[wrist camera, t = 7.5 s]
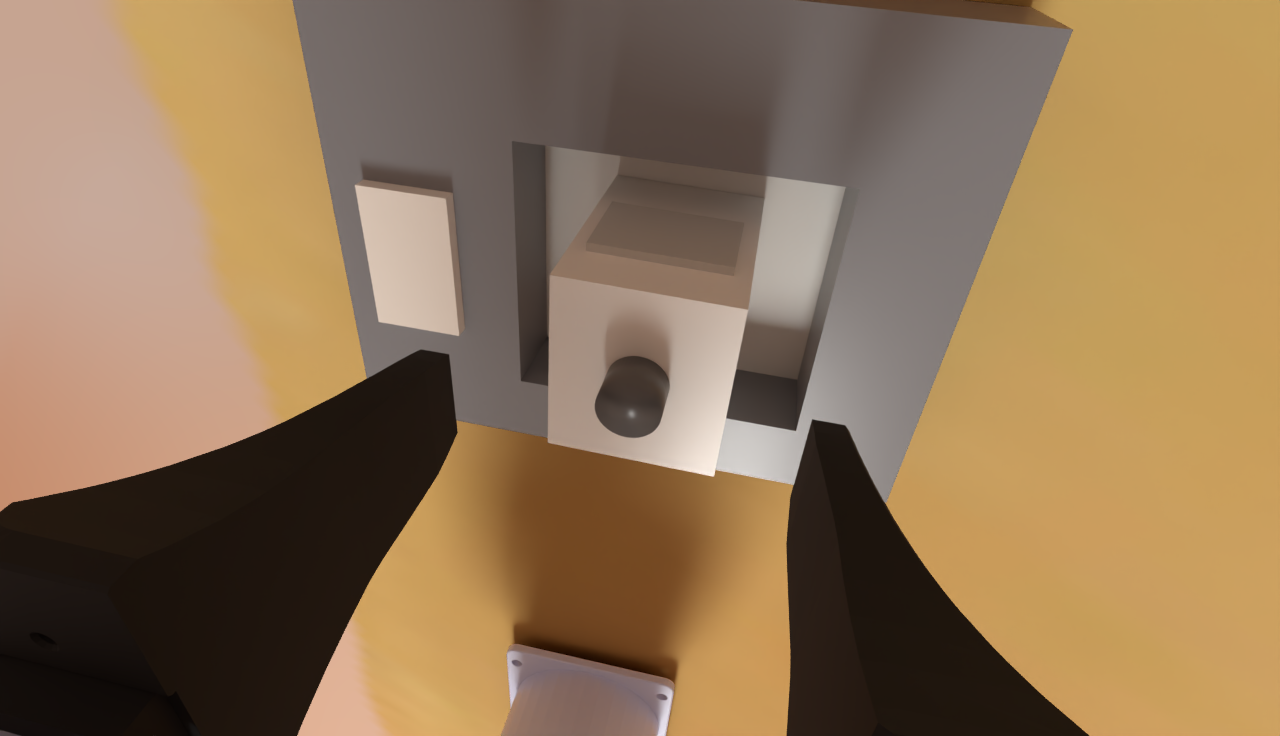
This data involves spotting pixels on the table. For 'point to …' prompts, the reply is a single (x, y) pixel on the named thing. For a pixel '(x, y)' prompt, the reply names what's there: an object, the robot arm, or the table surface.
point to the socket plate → (679, 183)
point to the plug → (651, 323)
